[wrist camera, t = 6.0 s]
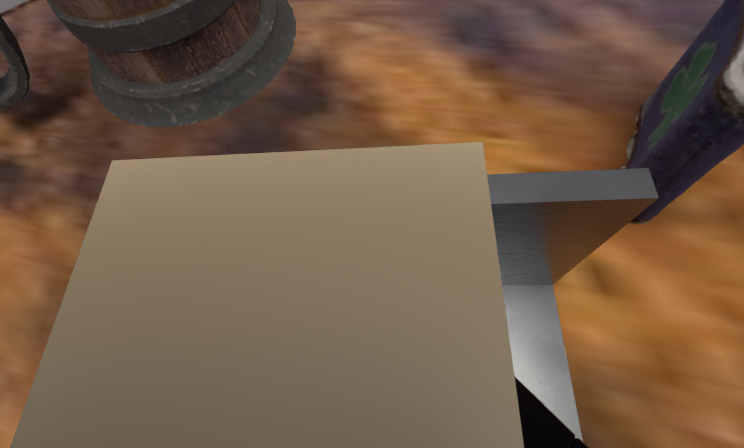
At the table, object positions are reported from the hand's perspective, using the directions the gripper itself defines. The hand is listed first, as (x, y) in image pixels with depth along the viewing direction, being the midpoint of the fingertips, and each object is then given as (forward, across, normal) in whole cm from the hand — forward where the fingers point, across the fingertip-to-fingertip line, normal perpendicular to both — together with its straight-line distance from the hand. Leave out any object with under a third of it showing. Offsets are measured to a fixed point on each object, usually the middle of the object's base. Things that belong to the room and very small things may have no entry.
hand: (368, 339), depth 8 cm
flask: (+17, -15, 0) cm, 23 cm away
